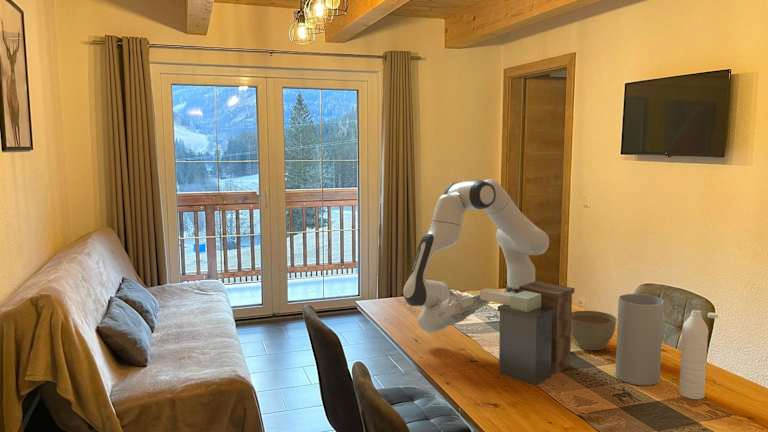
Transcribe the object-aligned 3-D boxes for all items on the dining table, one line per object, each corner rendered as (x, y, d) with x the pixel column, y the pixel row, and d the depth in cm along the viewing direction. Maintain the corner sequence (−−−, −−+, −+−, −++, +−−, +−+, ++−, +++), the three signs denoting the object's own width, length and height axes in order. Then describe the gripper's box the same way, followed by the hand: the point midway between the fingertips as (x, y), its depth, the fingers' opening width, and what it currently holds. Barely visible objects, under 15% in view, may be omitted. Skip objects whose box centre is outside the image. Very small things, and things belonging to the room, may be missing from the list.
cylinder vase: (656, 390, 169) (660, 307, 166) (611, 381, 176) (614, 301, 172) (662, 374, 180) (666, 297, 176) (619, 367, 186) (622, 291, 183)
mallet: (490, 295, 193) (490, 283, 192) (541, 306, 179) (541, 294, 178) (476, 300, 187) (476, 288, 187) (526, 312, 173) (527, 299, 173)
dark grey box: (514, 364, 190) (515, 299, 187) (553, 376, 180) (554, 308, 177) (496, 373, 183) (497, 306, 180) (535, 386, 173) (537, 315, 170)
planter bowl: (622, 345, 205) (623, 315, 204) (604, 358, 194) (605, 327, 192) (579, 335, 216) (580, 307, 215) (559, 347, 205) (560, 317, 203)
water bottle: (675, 394, 166) (679, 310, 162) (683, 387, 170) (688, 305, 167) (708, 404, 159) (713, 317, 156) (716, 397, 164) (721, 312, 161)
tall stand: (534, 354, 198) (535, 281, 194) (572, 365, 188) (574, 288, 184) (518, 362, 191) (519, 286, 188) (556, 374, 181) (558, 294, 178)
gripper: (430, 308, 193) (458, 294, 184) (468, 296, 207) (496, 283, 198) (437, 326, 192) (466, 313, 182) (475, 312, 206) (503, 300, 196)
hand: (482, 297), depth 190 cm, fingers open, 8 cm apart
